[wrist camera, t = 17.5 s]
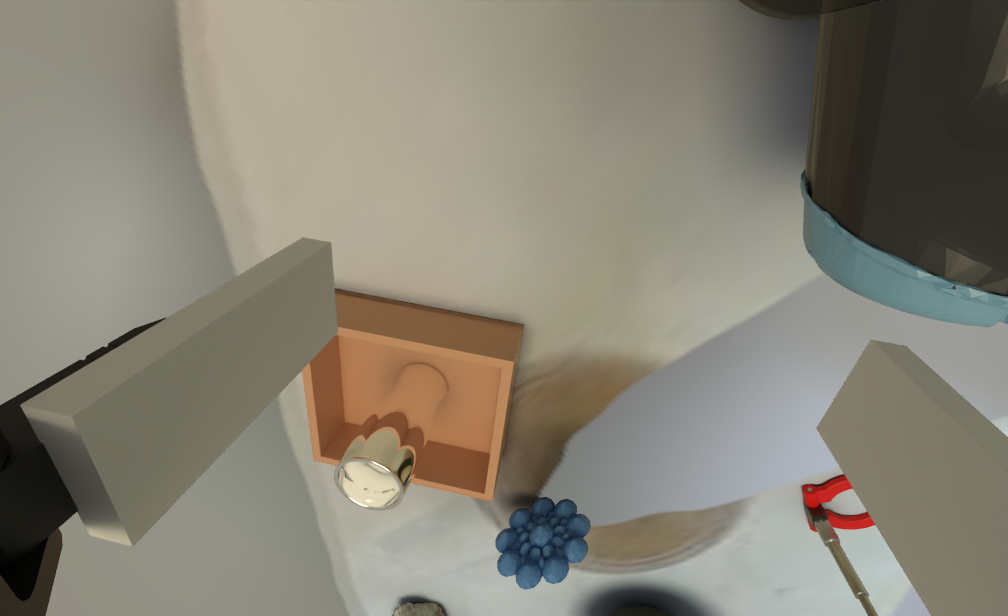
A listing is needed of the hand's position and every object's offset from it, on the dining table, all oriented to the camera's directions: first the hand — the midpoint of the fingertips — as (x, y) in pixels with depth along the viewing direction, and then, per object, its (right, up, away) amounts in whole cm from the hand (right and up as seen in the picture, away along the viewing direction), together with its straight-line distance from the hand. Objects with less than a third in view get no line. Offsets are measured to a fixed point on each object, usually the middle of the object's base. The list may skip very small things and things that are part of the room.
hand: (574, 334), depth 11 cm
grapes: (+4, -26, +50) cm, 56 cm away
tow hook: (+38, -21, +41) cm, 60 cm away
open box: (-12, -8, +43) cm, 45 cm away
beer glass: (-11, -8, +42) cm, 45 cm away
